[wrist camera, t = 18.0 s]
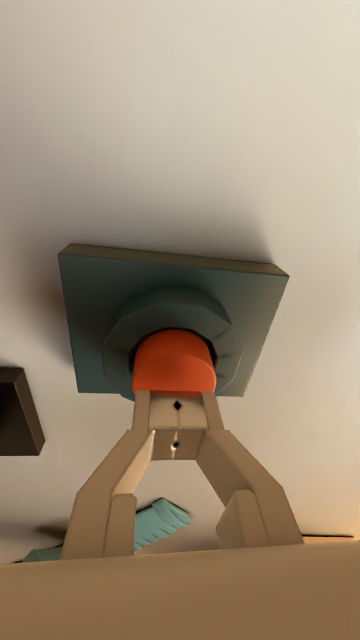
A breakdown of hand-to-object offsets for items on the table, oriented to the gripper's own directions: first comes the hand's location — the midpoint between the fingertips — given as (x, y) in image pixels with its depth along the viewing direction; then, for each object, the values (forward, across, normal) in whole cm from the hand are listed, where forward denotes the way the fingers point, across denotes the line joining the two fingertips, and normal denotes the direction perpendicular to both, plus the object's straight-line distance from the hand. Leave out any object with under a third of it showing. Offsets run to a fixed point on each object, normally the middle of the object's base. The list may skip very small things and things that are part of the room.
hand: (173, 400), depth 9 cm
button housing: (+6, 0, 0) cm, 6 cm away
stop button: (+3, 0, 0) cm, 3 cm away
